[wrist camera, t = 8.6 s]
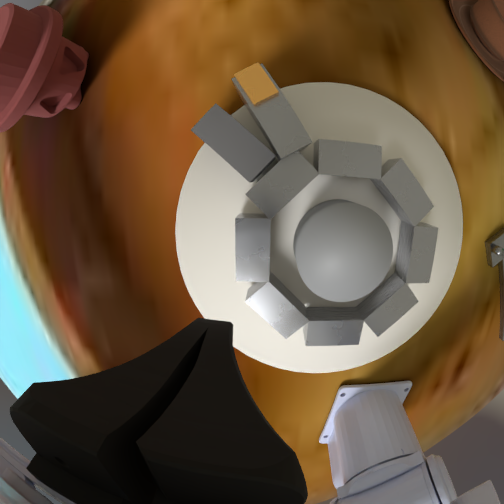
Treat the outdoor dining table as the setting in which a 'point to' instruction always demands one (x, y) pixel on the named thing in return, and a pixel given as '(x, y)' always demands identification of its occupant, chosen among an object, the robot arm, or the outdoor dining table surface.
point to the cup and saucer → (483, 30)
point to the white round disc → (314, 224)
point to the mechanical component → (37, 65)
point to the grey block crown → (288, 186)
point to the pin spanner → (499, 252)
